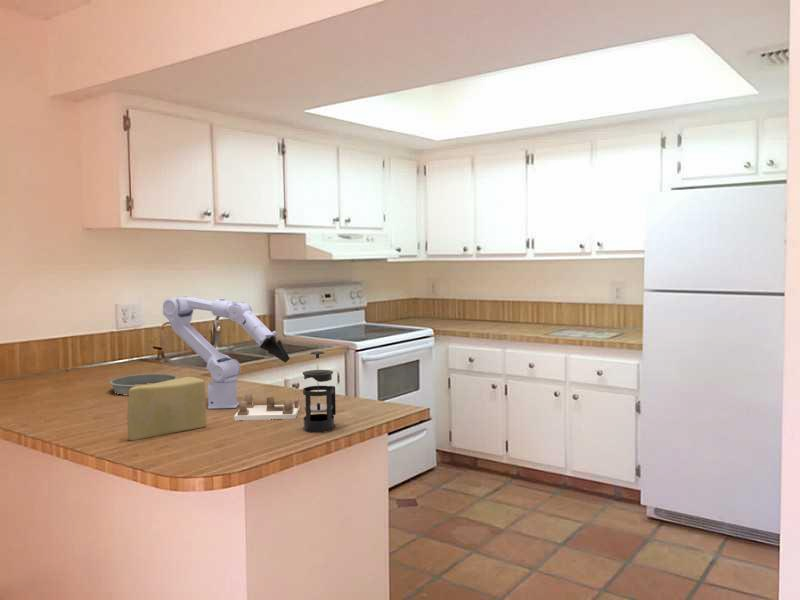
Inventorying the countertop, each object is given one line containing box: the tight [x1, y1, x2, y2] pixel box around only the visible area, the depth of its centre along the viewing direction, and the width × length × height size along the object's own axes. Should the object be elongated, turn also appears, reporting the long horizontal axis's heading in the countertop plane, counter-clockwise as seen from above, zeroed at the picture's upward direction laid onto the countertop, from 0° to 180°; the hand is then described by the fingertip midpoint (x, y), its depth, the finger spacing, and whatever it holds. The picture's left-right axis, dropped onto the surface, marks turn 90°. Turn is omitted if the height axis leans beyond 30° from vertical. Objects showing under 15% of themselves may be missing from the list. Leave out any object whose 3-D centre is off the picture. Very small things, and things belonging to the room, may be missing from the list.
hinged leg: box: [266, 396, 294, 411], centre depth 212 cm, size 8×2×4 cm, turn 93°
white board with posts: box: [233, 393, 301, 422], centre depth 213 cm, size 19×14×6 cm
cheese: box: [126, 376, 207, 442], centre depth 193 cm, size 22×10×15 cm, turn 139°
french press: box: [302, 350, 337, 433], centre depth 195 cm, size 12×9×23 cm
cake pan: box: [109, 373, 179, 395], centre depth 256 cm, size 25×25×4 cm
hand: (284, 358), depth 216 cm, fingers open, 7 cm apart
